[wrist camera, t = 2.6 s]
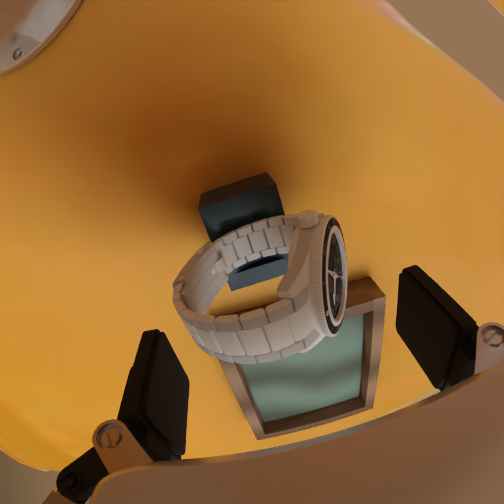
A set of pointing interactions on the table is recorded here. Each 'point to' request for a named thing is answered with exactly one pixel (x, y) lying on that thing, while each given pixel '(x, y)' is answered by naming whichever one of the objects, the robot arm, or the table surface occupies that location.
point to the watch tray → (316, 372)
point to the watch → (263, 274)
